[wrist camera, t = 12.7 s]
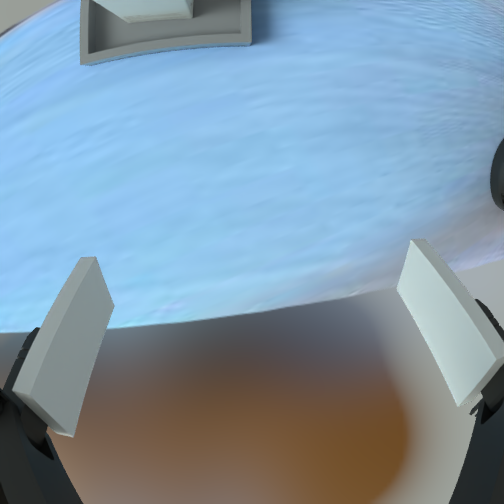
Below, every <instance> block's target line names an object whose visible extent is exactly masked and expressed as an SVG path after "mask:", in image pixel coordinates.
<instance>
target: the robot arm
mask: <svg viewBox="0 0 504 504" xmlns="http://www.w3.org/2000/svg"><path fill="white" fill-rule="evenodd" d="M490 184H491V193H492V197H493V200H494V202H495V204H496V205H497V206H498V207H499V208H500V209H502V210H503V211H504V139H503V141H502V142H501V144H500V145H499V147H498V149H497V151H496V154H495V157H494V160H493V164H492V169H491V179H490ZM397 291H398V292H399V294H400V296H401V297H402V299H403V301H404V303H405V304H406V306H407V308H408V310H409V311H410V313H411V315H412V317H413V319H414V320H415V322H416V324H417V326H418V327H419V329H420V331H421V333H422V335H423V337H424V339H425V340H426V342H427V344H428V346H429V348H430V350H431V352H432V354H433V356H434V358H435V360H436V362H437V364H438V366H439V368H440V370H441V372H442V374H443V376H444V378H445V380H446V382H447V385H448V387H449V389H450V391H451V393H452V396H453V398H454V400H455V402H456V405H457V407H459V406H462V405H464V404H467V403H469V402H472V401H473V400H474V399H475V398H476V397H477V395H478V394H479V393H480V392H481V394H482V395H483V398H482V399H481V400H480V401H479V402H478V403H477V405H476V406H475V407H474V408H473V409H472V410H471V412H470V415H472V414H473V413H474V412H475V411H476V410H477V409H478V412H477V414H476V415H475V417H476V421H475V425H474V429H473V433H472V437H471V441H470V444H469V448H468V451H467V454H466V458H465V461H464V464H463V467H462V470H461V473H460V476H459V479H458V482H457V484H456V487H455V489H454V492H453V495H452V497H451V499H450V502H449V504H504V330H503V329H502V327H501V326H499V323H498V322H497V320H496V319H495V318H494V316H493V315H492V313H491V312H490V310H489V309H488V308H487V306H485V305H484V304H483V303H482V302H480V301H479V300H478V299H474V298H473V297H472V296H471V294H470V293H469V292H468V290H467V289H466V288H465V286H464V285H463V284H462V283H461V281H460V280H459V279H458V278H457V276H456V275H455V274H454V272H453V271H452V270H451V269H450V267H449V266H448V265H447V264H446V263H445V261H444V260H443V259H442V258H441V257H440V255H439V254H438V253H437V252H436V251H435V250H434V248H433V247H432V246H431V245H430V244H429V243H428V242H427V240H426V239H411V242H410V245H409V249H408V253H407V256H406V260H405V263H404V267H403V270H402V274H401V277H400V280H399V283H398V286H397ZM113 309H114V304H113V301H112V299H111V296H110V294H109V291H108V288H107V286H106V283H105V280H104V278H103V275H102V272H101V270H100V267H99V264H98V261H97V258H96V257H81V258H80V260H79V261H78V263H77V264H76V266H75V268H74V269H73V271H72V272H71V274H70V276H69V277H68V279H67V281H66V282H65V284H64V286H63V288H62V289H61V291H60V293H59V294H58V296H57V298H56V300H55V302H54V303H53V305H52V307H51V309H50V311H49V313H48V314H47V316H46V318H45V320H44V322H43V324H42V326H41V328H38V327H36V328H35V329H34V330H33V331H32V332H31V333H30V334H29V335H28V336H27V339H26V340H25V342H24V344H23V346H22V350H21V351H20V352H19V354H18V356H17V357H18V359H16V361H15V363H14V365H13V367H12V369H11V372H10V374H9V376H8V378H7V381H6V383H5V385H4V388H3V390H2V389H1V388H0V504H83V502H82V501H81V499H80V497H79V495H78V494H77V492H76V490H75V488H74V486H73V485H72V483H71V481H70V479H69V477H68V475H67V473H66V471H65V469H64V467H63V465H62V463H61V461H60V459H59V457H58V454H57V452H56V450H55V448H54V445H53V443H52V441H51V438H50V437H49V435H48V434H47V433H46V430H47V427H48V426H49V427H50V428H51V429H52V430H53V431H54V432H56V433H58V434H62V435H66V436H70V437H74V434H75V429H76V426H77V422H78V418H79V414H80V410H81V407H82V403H83V399H84V396H85V392H86V388H87V385H88V382H89V379H90V376H91V372H92V369H93V366H94V363H95V360H96V357H97V353H98V351H99V348H100V345H101V342H102V339H103V336H104V333H105V331H106V328H107V325H108V322H109V320H110V317H111V314H112V312H113Z"/></svg>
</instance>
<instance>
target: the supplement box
mask: <svg viewBox="0 0 504 504" xmlns="http://www.w3.org/2000/svg"><path fill="white" fill-rule="evenodd" d="M93 1H95V2H96V3H98V4H100V5H101V6H103V7H104V8H106V9H108V10H109V11H111V12H112V13H114V14H115V15H117V16H118V17H120V18H121V19H123V20H124V21H126V22H127V23H135V22H144V21H155V20H168V19H191V18H193V2H194V0H93Z"/></svg>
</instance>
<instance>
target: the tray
mask: <svg viewBox="0 0 504 504" xmlns="http://www.w3.org/2000/svg"><path fill="white" fill-rule="evenodd" d="M251 43H252V32H251V0H194V2H193V18H191V19H168V20H155V21H144V22H135V23H127V22H126V21H124V20H123V19H121V18H120V17H118V16H117V15H115V14H114V13H112V12H111V11H109V10H108V9H106V8H104V7H103V6H101V5H100V4H98V3H96V2H95V1H93V0H81V8H80V65H86V66H93V65H97V64H101V63H105V62H110V61H114V60H119V59H124V58H129V57H135V56H140V55H146V54H153V53H160V52H167V51H176V50H185V49H196V48H210V47H231V46H249V45H250V44H251Z"/></svg>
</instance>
